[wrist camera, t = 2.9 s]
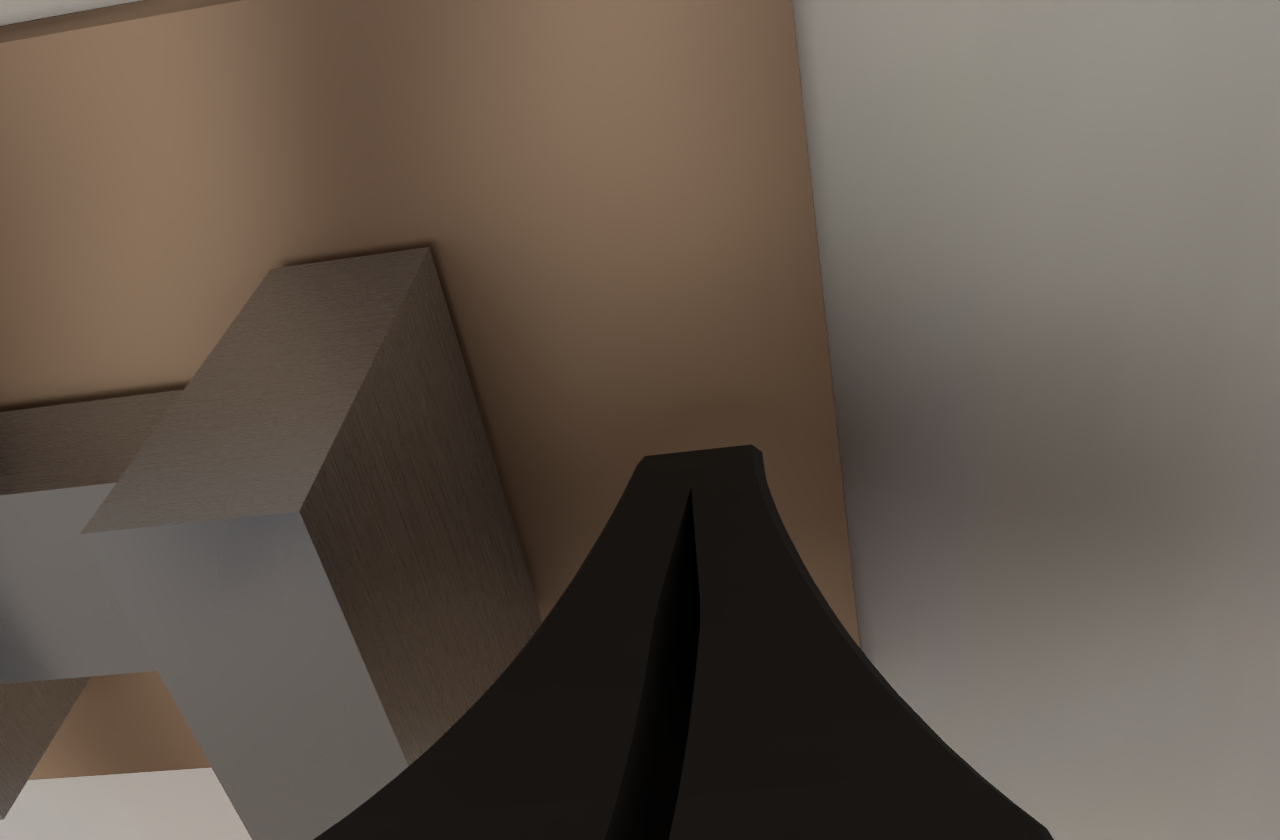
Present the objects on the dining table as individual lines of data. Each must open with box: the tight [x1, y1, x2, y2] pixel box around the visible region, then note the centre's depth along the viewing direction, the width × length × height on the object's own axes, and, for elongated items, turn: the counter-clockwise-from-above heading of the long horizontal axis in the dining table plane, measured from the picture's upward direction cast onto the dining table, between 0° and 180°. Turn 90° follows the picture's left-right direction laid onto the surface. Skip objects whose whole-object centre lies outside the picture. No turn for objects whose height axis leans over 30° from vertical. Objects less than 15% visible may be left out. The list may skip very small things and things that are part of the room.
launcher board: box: [0, 0, 860, 780], centre depth 17 cm, size 23×12×1 cm, turn 100°
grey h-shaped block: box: [0, 247, 542, 840], centre depth 14 cm, size 8×6×5 cm
